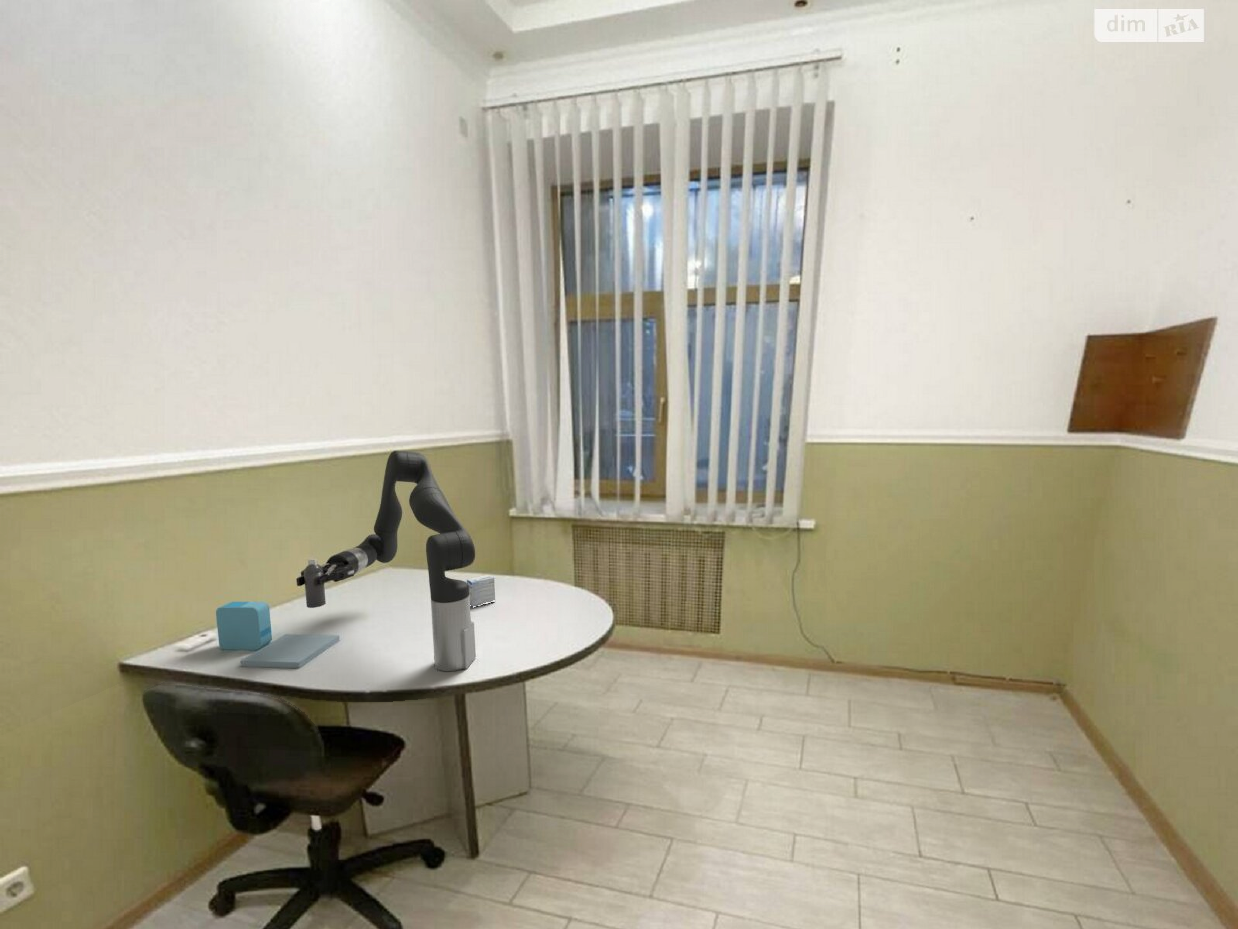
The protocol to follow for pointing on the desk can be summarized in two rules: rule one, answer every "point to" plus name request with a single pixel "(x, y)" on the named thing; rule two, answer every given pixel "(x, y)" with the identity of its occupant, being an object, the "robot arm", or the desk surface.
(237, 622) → the data package
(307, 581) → the dark grey bottle
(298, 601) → the desk surface
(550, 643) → the desk surface
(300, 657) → the plate
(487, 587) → the medicine box
